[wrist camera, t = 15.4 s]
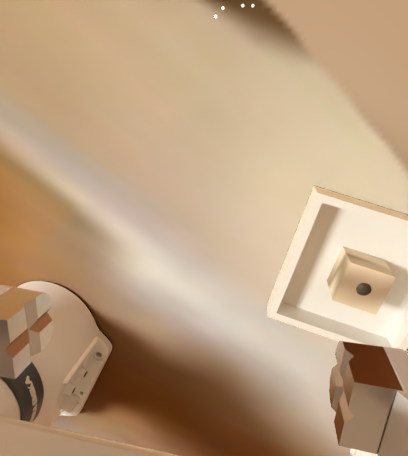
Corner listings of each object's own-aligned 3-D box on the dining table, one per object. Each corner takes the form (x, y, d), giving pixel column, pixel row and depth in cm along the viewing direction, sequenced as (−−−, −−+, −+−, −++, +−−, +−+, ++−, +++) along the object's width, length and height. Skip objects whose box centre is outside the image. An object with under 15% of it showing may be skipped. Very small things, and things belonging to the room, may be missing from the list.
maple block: (365, 293, 40) (376, 315, 36) (326, 280, 41) (332, 300, 37) (383, 259, 39) (396, 277, 35) (342, 245, 39) (350, 262, 35)
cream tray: (389, 342, 42) (399, 362, 39) (267, 301, 44) (267, 316, 40) (454, 229, 37) (471, 241, 34) (313, 185, 38) (317, 192, 35)
